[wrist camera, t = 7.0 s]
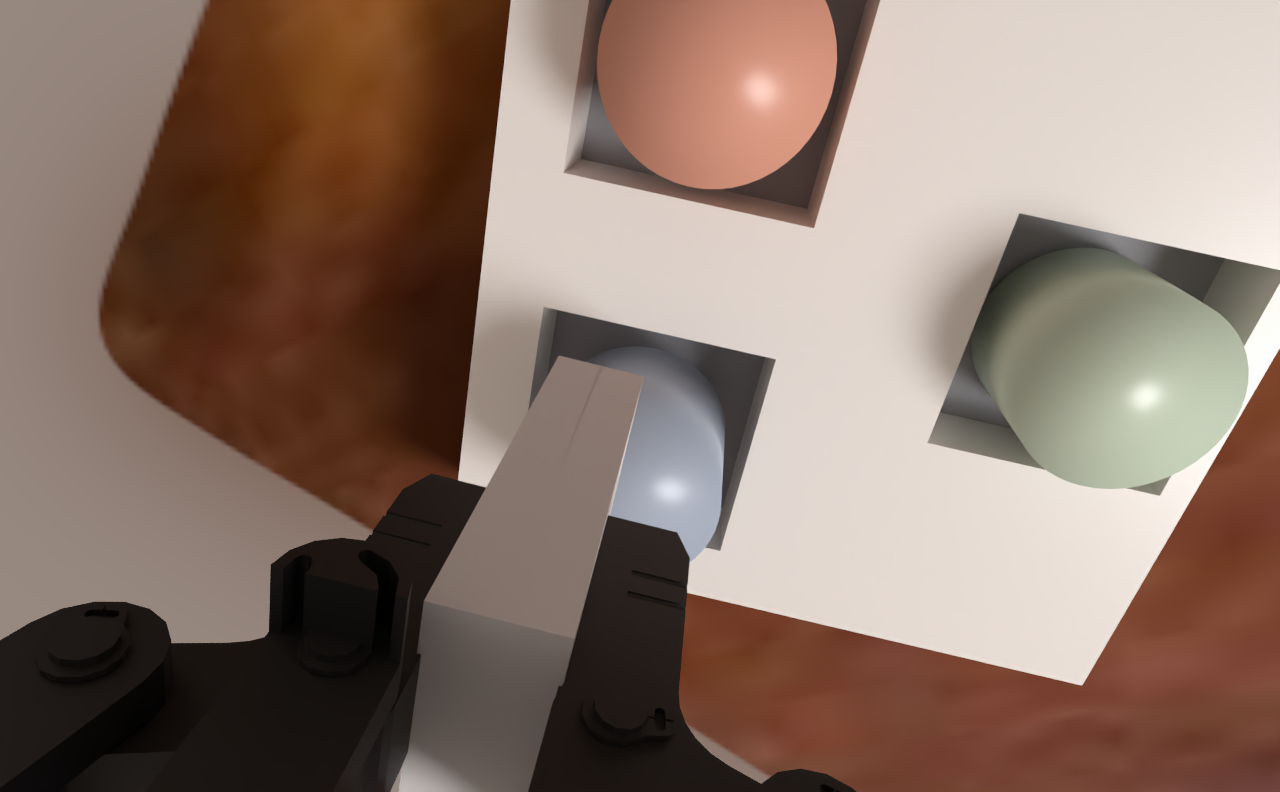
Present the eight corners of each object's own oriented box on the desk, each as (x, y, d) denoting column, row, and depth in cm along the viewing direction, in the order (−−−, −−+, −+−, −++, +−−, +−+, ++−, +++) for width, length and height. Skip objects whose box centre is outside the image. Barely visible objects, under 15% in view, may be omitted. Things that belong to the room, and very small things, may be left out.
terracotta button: (643, -71, 19) (620, -94, 16) (846, -28, 19) (869, -41, 16) (607, 140, 22) (579, 162, 18) (790, 180, 21) (799, 211, 18)
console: (570, -201, 20) (537, -244, 17) (1386, -31, 19) (1508, -43, 16) (483, 481, 28) (451, 537, 25) (1044, 612, 28) (1082, 685, 25)
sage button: (1012, 229, 21) (1066, 270, 18) (1199, 270, 21) (1293, 320, 17) (945, 396, 23) (982, 462, 20) (1115, 434, 23) (1183, 509, 20)
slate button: (569, 328, 22) (535, 386, 19) (743, 368, 22) (743, 434, 19) (544, 478, 25) (509, 555, 21) (703, 516, 24) (696, 600, 21)
